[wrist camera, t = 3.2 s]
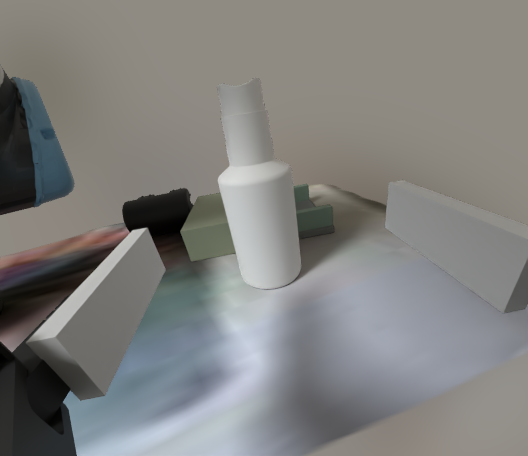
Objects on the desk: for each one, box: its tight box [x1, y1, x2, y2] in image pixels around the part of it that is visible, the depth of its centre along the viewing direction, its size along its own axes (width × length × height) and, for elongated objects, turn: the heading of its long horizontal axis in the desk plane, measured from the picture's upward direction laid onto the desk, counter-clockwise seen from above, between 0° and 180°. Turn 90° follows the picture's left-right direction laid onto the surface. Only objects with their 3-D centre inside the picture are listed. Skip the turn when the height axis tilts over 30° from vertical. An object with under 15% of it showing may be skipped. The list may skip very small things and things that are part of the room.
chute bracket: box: [180, 184, 334, 262], centre depth 35 cm, size 20×14×4 cm
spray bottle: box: [217, 78, 302, 289], centre depth 21 cm, size 7×7×18 cm
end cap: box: [122, 188, 194, 236], centre depth 39 cm, size 10×7×7 cm
